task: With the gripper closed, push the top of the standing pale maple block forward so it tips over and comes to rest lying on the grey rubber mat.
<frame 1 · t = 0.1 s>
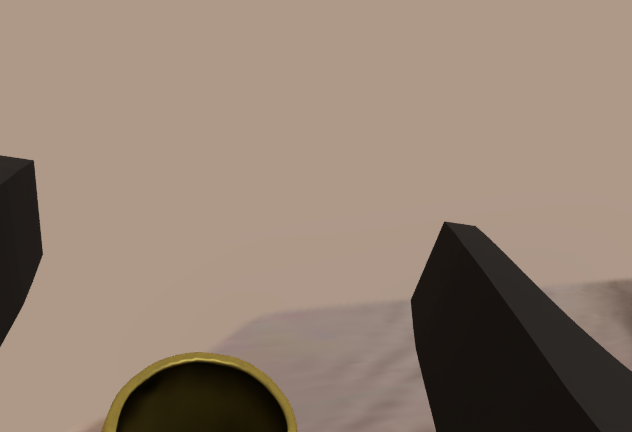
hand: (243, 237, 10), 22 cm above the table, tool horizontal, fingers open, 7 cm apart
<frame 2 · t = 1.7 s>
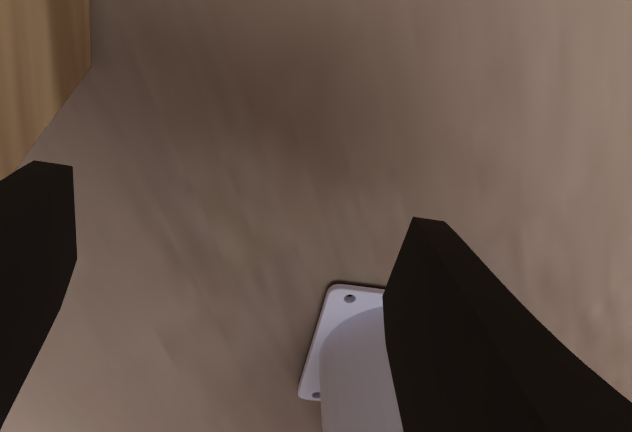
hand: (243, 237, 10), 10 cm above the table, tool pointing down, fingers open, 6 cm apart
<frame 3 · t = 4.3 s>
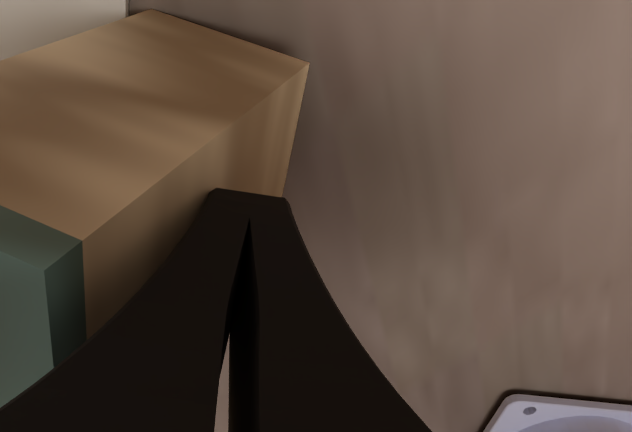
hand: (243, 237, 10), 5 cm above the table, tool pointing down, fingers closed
block: (219, 114, 14), point 1 cm above the table, tilted 23°
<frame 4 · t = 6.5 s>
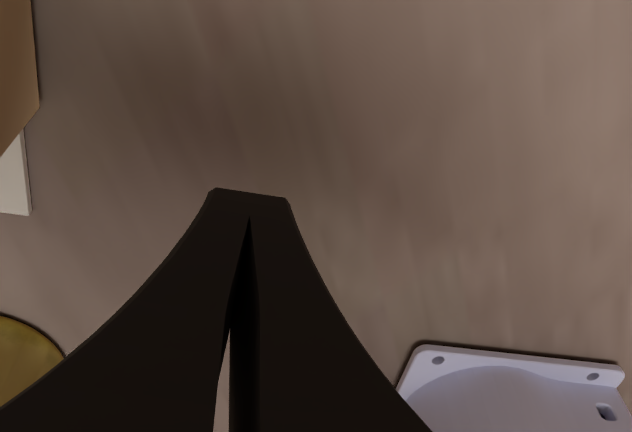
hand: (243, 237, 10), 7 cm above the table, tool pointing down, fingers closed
block: (3, 68, 13), point 2 cm above the table, tilted 90°, touching mat
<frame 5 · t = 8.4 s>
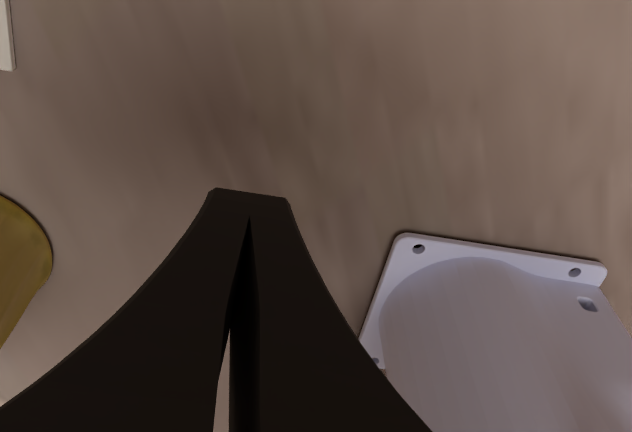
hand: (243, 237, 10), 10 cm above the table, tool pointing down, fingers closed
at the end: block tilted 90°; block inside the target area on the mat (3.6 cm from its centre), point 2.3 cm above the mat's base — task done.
